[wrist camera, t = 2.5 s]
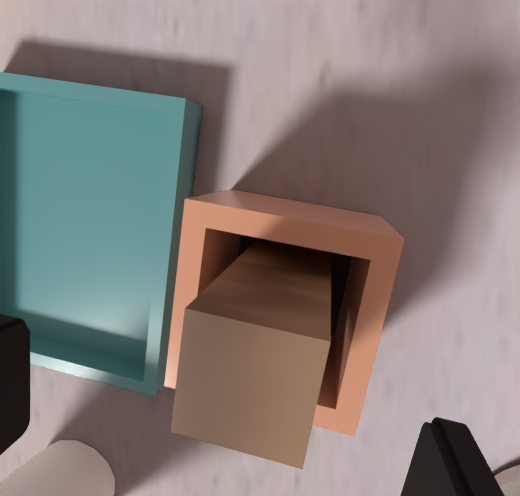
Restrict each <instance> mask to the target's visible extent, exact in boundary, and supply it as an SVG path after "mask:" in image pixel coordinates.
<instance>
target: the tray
mask: <svg viewBox="0 0 520 496" xmlns="http://www.w3.org/2000/svg"><path fill="white" fill-rule="evenodd" d="M202 107H203V106H201V105H198V104H196V103H194V102H192V101H190V100H188V99H186V98H180V97H173V96H166V95H159V94H152V93H145V92H138V91H131V90H124V89H117V88H110V87H103V86H96V85H89V84H82V83H75V82H68V81H61V80H54V79H47V78H40V77H33V76H26V75H19V74H12V73H5V72H0V314H4V315H9V316H13V317H17V318H21V319H23V320H24V321H25V323H26V326H27V327H28V328H29V329H30V363H31V364H35V365H39V366H42V367H46V368H50V369H53V370H57V371H61V372H64V373H68V374H72V375H76V376H79V377H83V378H87V379H90V380H94V381H98V382H102V383H105V384H109V385H113V386H116V387H120V388H124V389H128V390H131V391H135V392H139V393H142V394H146V395H150V396H154V397H155V396H156V394H157V393H158V392H159V391H160V389H161V388H162V387H163V385H164V383H165V374H166V365H167V356H168V347H169V338H170V329H171V320H172V311H173V301H174V292H175V283H176V274H177V265H178V256H179V247H180V238H181V229H182V220H183V211H184V201H185V198H190V197H192V194H193V185H194V176H195V168H196V159H197V150H198V142H199V133H200V124H201V115H202Z"/></svg>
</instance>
